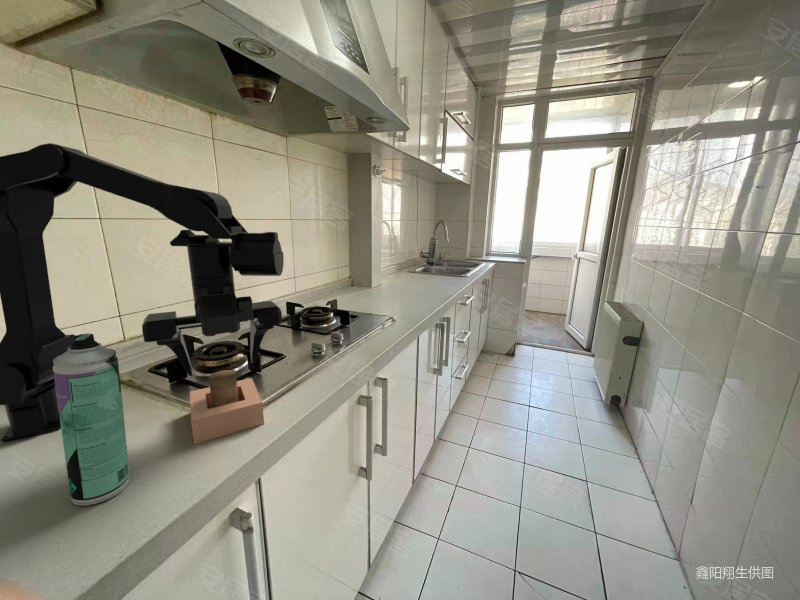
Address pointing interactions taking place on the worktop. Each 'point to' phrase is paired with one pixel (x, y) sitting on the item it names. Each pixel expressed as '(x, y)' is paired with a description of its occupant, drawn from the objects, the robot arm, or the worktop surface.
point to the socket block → (225, 412)
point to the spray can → (91, 420)
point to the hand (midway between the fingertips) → (223, 368)
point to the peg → (223, 388)
